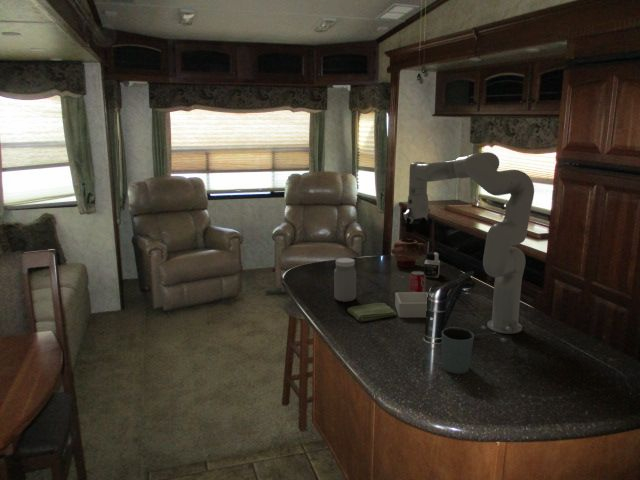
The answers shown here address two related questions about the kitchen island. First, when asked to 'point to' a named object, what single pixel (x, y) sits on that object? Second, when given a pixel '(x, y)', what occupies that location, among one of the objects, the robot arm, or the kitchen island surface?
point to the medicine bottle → (431, 265)
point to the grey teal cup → (456, 349)
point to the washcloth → (371, 311)
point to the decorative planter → (407, 252)
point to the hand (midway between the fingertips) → (416, 230)
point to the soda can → (417, 281)
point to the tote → (411, 304)
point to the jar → (345, 280)
